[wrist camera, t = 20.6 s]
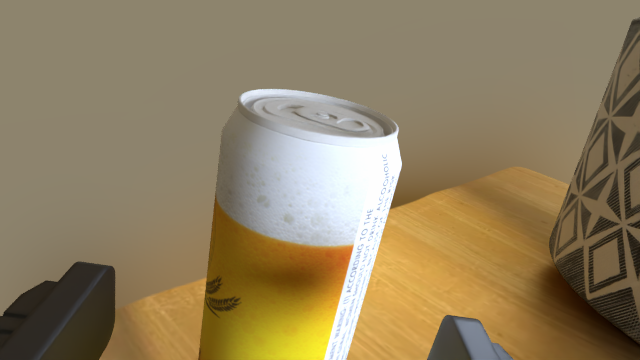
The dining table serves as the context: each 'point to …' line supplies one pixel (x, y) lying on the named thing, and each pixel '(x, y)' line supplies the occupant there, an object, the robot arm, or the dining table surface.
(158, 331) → the dining table surface
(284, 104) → the beer can
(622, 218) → the planter
